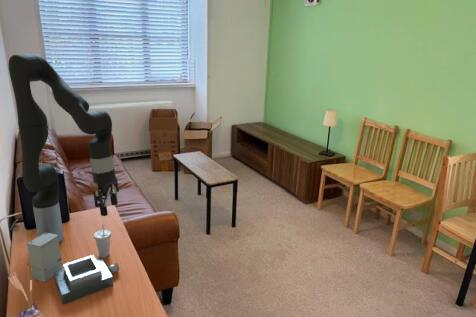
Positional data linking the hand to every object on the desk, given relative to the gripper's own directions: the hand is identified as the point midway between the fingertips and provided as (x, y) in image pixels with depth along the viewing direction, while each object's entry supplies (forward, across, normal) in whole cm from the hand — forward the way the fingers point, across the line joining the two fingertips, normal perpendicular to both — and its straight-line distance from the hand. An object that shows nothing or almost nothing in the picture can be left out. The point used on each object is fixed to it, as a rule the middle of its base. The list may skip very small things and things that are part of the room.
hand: (109, 210), depth 124 cm
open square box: (+22, +11, -6) cm, 26 cm away
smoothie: (+22, -4, -8) cm, 24 cm away
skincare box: (+21, +10, -22) cm, 32 cm away
